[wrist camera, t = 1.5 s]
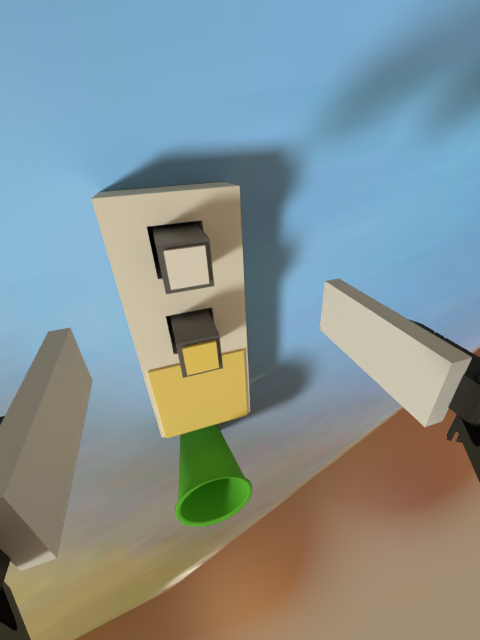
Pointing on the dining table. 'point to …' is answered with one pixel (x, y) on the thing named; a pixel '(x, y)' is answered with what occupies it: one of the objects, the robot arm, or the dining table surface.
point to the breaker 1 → (184, 257)
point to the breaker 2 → (196, 342)
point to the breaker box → (181, 298)
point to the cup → (209, 479)
